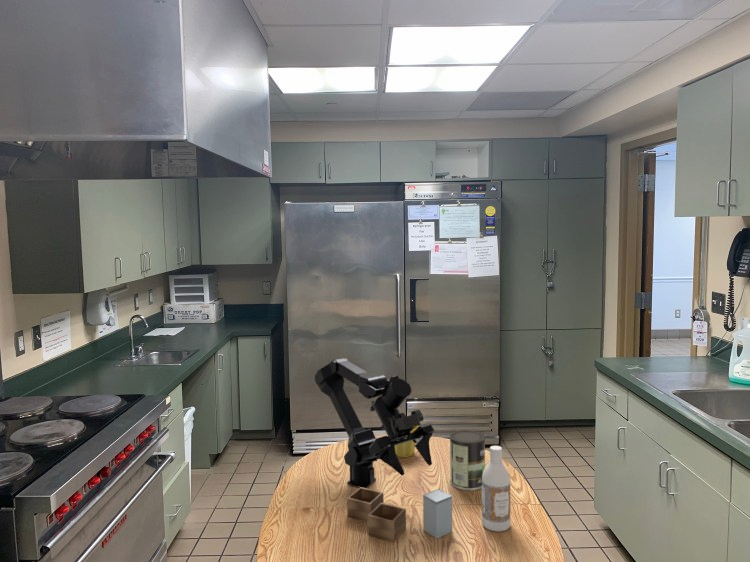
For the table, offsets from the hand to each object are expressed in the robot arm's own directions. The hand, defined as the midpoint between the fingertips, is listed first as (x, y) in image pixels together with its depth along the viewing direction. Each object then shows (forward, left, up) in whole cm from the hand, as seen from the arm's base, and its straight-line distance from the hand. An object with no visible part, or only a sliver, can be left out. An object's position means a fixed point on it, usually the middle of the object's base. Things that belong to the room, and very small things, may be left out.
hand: (417, 469), depth 136 cm
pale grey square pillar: (+7, -3, -13) cm, 15 cm away
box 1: (-13, -4, -13) cm, 19 cm away
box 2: (-4, -9, -13) cm, 16 cm away
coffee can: (+5, +25, -13) cm, 28 cm away
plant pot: (-21, +36, -13) cm, 44 cm away
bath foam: (+19, +6, -13) cm, 24 cm away
